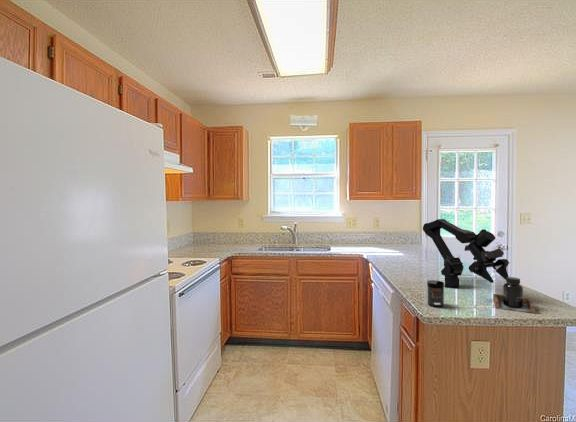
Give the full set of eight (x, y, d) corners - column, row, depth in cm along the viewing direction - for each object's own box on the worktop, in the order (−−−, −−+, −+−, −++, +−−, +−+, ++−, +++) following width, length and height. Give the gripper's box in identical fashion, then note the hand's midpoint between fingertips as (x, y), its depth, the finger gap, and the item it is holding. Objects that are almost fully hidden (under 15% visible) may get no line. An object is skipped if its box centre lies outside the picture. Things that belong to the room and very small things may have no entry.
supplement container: (440, 302, 134) (440, 280, 134) (446, 308, 127) (446, 284, 127) (425, 302, 135) (424, 280, 134) (430, 307, 128) (430, 284, 128)
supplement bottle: (522, 309, 122) (523, 281, 122) (502, 306, 127) (502, 278, 126) (522, 305, 128) (523, 277, 127) (503, 301, 132) (503, 275, 132)
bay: (495, 308, 126) (495, 301, 126) (493, 300, 136) (493, 293, 136) (534, 313, 119) (534, 306, 119) (529, 304, 129) (529, 297, 129)
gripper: (474, 244, 134) (496, 273, 124) (505, 241, 139) (529, 270, 129) (459, 257, 142) (480, 286, 132) (490, 255, 147) (511, 283, 137)
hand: (500, 281), depth 132 cm, fingers open, 9 cm apart
